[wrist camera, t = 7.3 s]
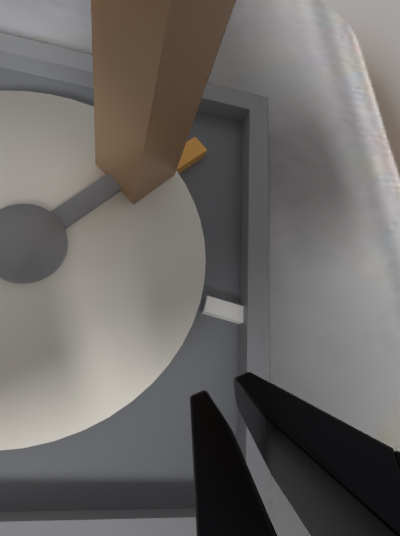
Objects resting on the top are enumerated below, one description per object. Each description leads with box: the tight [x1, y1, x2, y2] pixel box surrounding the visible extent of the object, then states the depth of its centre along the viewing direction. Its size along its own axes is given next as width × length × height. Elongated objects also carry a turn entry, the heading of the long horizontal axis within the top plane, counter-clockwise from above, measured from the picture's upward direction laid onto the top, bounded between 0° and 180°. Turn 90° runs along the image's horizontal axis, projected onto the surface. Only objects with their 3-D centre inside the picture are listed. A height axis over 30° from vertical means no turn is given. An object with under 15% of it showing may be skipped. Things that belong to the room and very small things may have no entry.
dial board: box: [0, 32, 271, 536], centre depth 15 cm, size 20×20×2 cm
